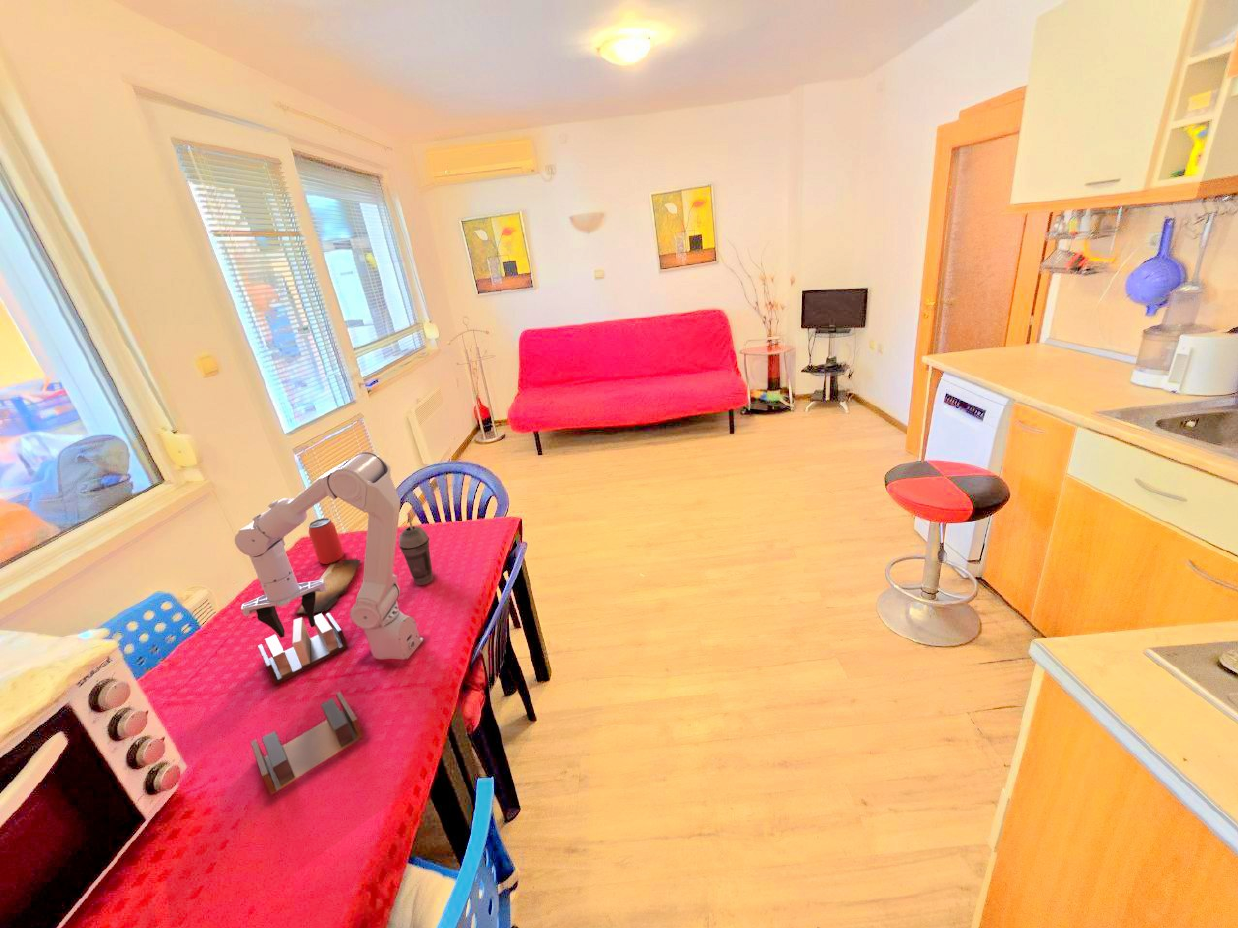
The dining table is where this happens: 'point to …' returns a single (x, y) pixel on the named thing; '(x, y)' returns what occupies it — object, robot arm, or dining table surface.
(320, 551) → the beer can
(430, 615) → the dining table surface
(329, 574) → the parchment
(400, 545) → the beverage cup
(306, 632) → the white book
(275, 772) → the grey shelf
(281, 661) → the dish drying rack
